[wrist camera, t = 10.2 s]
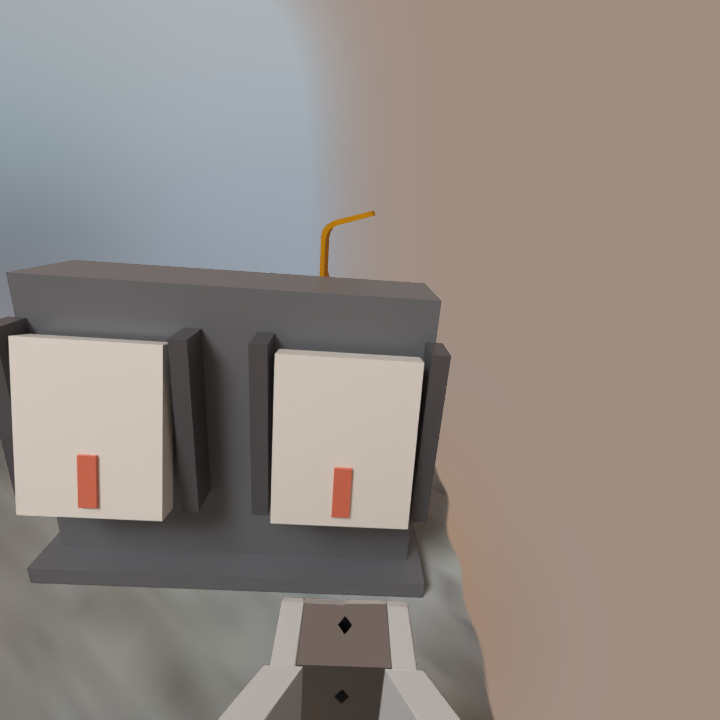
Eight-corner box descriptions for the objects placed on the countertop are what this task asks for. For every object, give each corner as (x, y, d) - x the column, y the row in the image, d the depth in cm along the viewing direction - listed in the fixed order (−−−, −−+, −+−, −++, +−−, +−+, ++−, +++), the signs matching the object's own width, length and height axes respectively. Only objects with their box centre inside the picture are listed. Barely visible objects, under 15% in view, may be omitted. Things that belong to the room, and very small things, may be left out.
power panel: (27, 586, 28) (-51, 277, 21) (112, 488, 37) (77, 255, 31) (423, 601, 29) (469, 311, 22) (405, 501, 38) (433, 279, 32)
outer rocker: (269, 525, 24) (274, 354, 22) (274, 509, 26) (279, 348, 24) (408, 531, 25) (424, 363, 23) (404, 515, 26) (419, 357, 24)
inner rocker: (13, 516, 23) (5, 336, 22) (35, 502, 25) (29, 333, 24) (160, 523, 24) (161, 345, 22) (173, 508, 25) (174, 342, 24)
